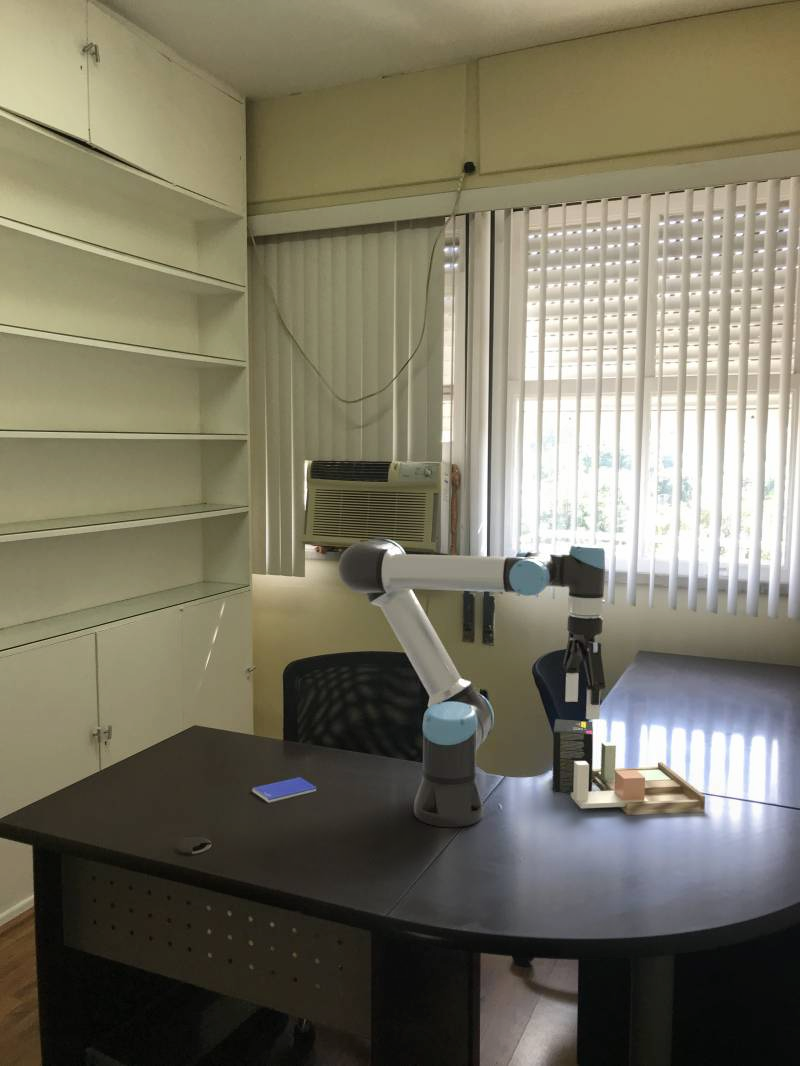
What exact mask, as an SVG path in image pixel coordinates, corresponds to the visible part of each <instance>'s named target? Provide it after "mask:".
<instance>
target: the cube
mask: <svg viewBox="0 0 800 1066" xmlns="http://www.w3.org/2000/svg"><path fill="white" fill-rule="evenodd" d="M614 792H615V793H616V794H617V795H618V796H619V797H620V798H621V799H622V800H644V798H645V777H644V776H643V775H641V774H640V773H639V772H638V771H637V770H619V771H615V790H614Z"/></svg>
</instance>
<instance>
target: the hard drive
mask: <svg viewBox="0 0 800 1066" xmlns="http://www.w3.org/2000/svg"><path fill="white" fill-rule="evenodd" d="M251 789H252V793H254V794H255V795H257V796H259V797H260V798H261V799H262V800H264V801H265V802H267V803H273V802H277V801H281V800H285V799H290V798H293V797H297V796H300V795H305V794H309V793H314V792H317V787H316V786H315V785H313V784H312V783H310V782H308V781H307V780H305V779H304V778H303V777H302V778H301V777H299V776H298V777H295V778H291V779H286V780H283V781H281V780H280V781H277V782H273V783H269V784H264V785H263V784H262V785H259V786H255V787H252V788H251Z"/></svg>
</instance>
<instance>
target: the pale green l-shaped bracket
mask: <svg viewBox="0 0 800 1066" xmlns="http://www.w3.org/2000/svg"><path fill="white" fill-rule="evenodd" d="M600 749H601V750H600V751H601V755H600V769H601V772H598V776H599V777H600V778H601V779H602V780H603V781H604V782H605V783H613V782H615V768H616V759H617V758H616V755H617V753H616V752H617V751H616V750H617V745H616V744H615V743H614V742H612V741H611V742H610V741H609V742H606V741H605V742H601V748H600ZM637 771H638V772H639V773H640V774H641V775H643V776H644V777H645V781H662V780H671V779H670V778H669V777H668V776H666V775H665V774H664V773H663V772H661V771H660V770H637Z"/></svg>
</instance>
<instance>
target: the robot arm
mask: <svg viewBox="0 0 800 1066" xmlns="http://www.w3.org/2000/svg"><path fill="white" fill-rule="evenodd" d="M605 553H606V552H605V549H604V548H603V547H602V546H601V545H596V544H573V545H571V546H570V550H569V552H566V553H565V552H564V553H560V552H547V551H546V552H545V551H535V550H530V551H529V550H528V551H527V550H526V551H519V552H517V553H516V555H515V556H489V555H488V556H487V555H486V556H485V555H484V556H483V555H452V554H451V555H450V554H449V555H448V554H447V555H446V554H444V555H443V554H413V553H412V554H411V553H410V554H409V553H408V554H407V553H406V552H405V550H404V548H403V546H401V545H400V544H399V543H397V542H396V541H394V540H392V539H388V538H381V537H378V538H377V537H376V538H372V539H370V540H367V541H361V542H357V543H354V544H352V545H350V546H349V547H347V548H346V549H345V550H344V551H343V553H342V554H341V556H340V558H339V561H338V567H337V568H338V574H339V577H340V580H341V582H342V583H343V584H344V585H345V586H346V587H347V588H348V589H349V590H351V591H352V592H355V593H359V594H365V595H366V597H367V598H368V600H369V603H370V604H371V605H373V606H377V607H380V609H381V611H382V613H383V615H384V616H385V619H386V620H387V622H388V623H389V625H390V627H391V629H392V630H393V632H394V634H395V636H396V638H397V640H398V641H399V643H400V645H401V648H402V649H403V650H404V653H405V654H406V656H407V658H408V660H409V662H410V664H411V666H412V667H413V669H414V670H415V672H416V675H417V676H418V678H419V681H420V682H421V683H422V685H423V687H424V688H425V690H426V692H427V694H428V696H429V699H428V704H427V707H428V708H427V709H426V710H425V712H424V715H423V721H422V779H421V781H420V784H419V788H418V791H417V793H416V796H415V798H414V804H413V814H414V817H416V819H418V820H419V821H420V822H422V823H424V824H428V825H431V826H435V827H441V828H460V827H461V828H462V827H467V826H471V825H474V824H476V823H479V822H480V820H483V819H482V818H483V817H484V804H483V800H482V797H481V793H480V791H479V786H478V784H477V779H476V778H477V777H476V776H477V775H476V774H477V772H476V771H477V751H478V749H479V748H480V746H481V745H482V744H483V742H485V741H486V740H487V739H488V738H489V735H490V734H491V731H492V729H493V727H494V722H495V719H494V718H495V715H494V710H493V706H492V705H491V703H490V701H489V700H488V699H487V698H486V697H485V696H484V695H483V694H481V693H478V692H477V691H476V688H475V687H474V685H473V683H472V682H471V681H470V680H467V679H464V678H462V677H461V675H460V673H459V672H458V670H457V668H456V666H455V664H454V662H453V661H452V658H451V657H450V655H449V654H448V651H447V650H446V648H445V646H444V644H443V643H442V641H441V639H440V638H439V635H438V633H437V632H436V630H435V628H434V627H433V625H432V623H431V621H430V620H429V618H428V616H427V614H426V612H425V611H424V608H423V607H422V605H421V604H420V602H419V600H418V598H417V596H416V595H415V593H414V590H435V591H436V590H439V591H441V590H442V591H468V592H496V593H500V592H501V593H514V594H518V595H522V596H525V597H526V596H527V597H529V596H531V597H532V596H535V595H538V594H540V593H541V592H543V591H544V590H545V589H546V588H547V587H561V588H568V595H567V596H568V597H567V612H568V613H569V615H568V616H567V627H566V628H567V629H566V630H567V631H568V637H567V639H568V640H567V645H566V649H565V651H564V657H563V662H562V667H563V668H564V670H565V672H566V673H565V693H564V694H565V697H564V699H565V700H564V701H565V702H566V703H570V702H573V703H574V702H576V703H577V702H579V701H578V700H579V699H578V697H579V673H580V665H581V662H582V663H583V666H584V671H585V675H586V680H587V686H586V688H585V689H586V703H585V705H586V710H585V719H586V720H600V708H601V690H604V689H606V682H605V681H606V680H605V674H604V666H603V659H602V644H601V642H599V641H598V642H597V641H596V640H595V637H596V636H598V635H601V634H602V632H603V620H604V618H603V617H602V616H601V615H603V612H604V605H605V604H606V601H605V599H604V592H605V591H604V590H605V574H606V573H605V572H606V563H605V560H606V559H605V557H606V556H605Z"/></svg>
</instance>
